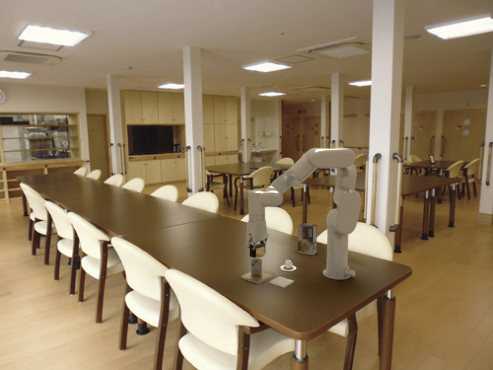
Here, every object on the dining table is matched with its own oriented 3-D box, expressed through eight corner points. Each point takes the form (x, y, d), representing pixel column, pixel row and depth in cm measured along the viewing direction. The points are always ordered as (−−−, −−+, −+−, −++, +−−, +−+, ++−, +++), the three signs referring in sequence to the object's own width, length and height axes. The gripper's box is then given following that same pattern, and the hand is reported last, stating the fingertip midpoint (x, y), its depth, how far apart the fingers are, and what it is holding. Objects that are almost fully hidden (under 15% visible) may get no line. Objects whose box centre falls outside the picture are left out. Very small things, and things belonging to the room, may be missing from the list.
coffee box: (316, 252, 199) (317, 224, 196) (312, 255, 193) (313, 227, 191) (301, 249, 203) (302, 222, 201) (297, 252, 198) (297, 225, 196)
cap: (261, 252, 166) (261, 241, 165) (266, 256, 160) (266, 245, 159) (248, 253, 164) (248, 243, 163) (253, 258, 158) (253, 247, 157)
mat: (293, 282, 159) (293, 280, 158) (283, 287, 152) (283, 286, 152) (279, 277, 164) (279, 276, 164) (269, 283, 158) (269, 281, 158)
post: (271, 277, 164) (271, 259, 163) (258, 284, 156) (258, 265, 155) (254, 271, 170) (254, 255, 169) (241, 278, 163) (241, 260, 162)
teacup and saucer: (286, 264, 182) (286, 256, 181) (300, 267, 177) (300, 259, 176) (277, 269, 175) (277, 261, 174) (290, 273, 170) (290, 264, 169)
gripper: (262, 212, 168) (262, 248, 171) (238, 219, 155) (239, 258, 158) (274, 214, 164) (275, 251, 166) (251, 222, 150) (252, 262, 153)
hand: (257, 254), depth 162 cm, fingers closed on cap, 6 cm apart
